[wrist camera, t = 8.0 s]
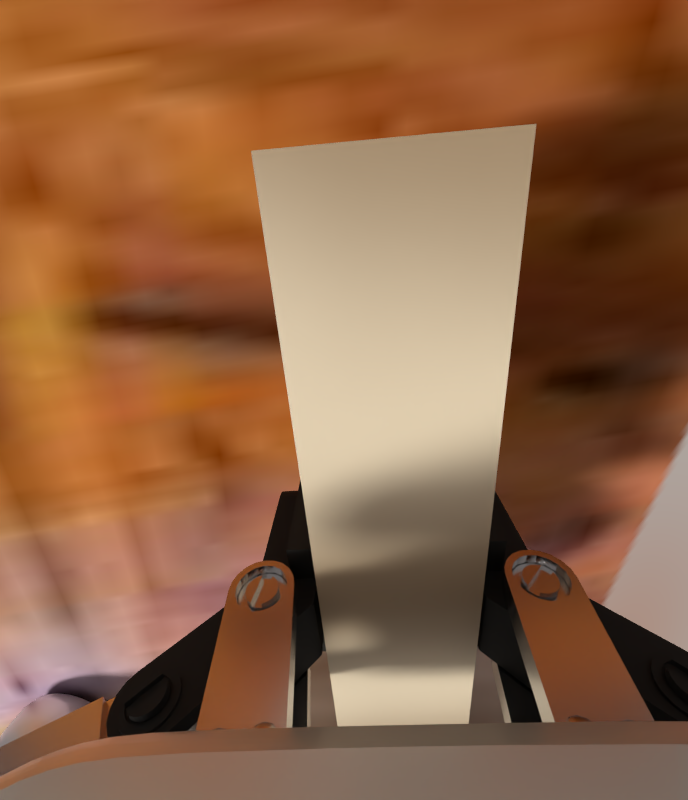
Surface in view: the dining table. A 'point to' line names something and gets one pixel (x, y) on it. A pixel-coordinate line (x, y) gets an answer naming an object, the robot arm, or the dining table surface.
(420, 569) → the cream upright plaque
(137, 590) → the dining table surface
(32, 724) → the plastic bottle
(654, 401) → the dining table surface
